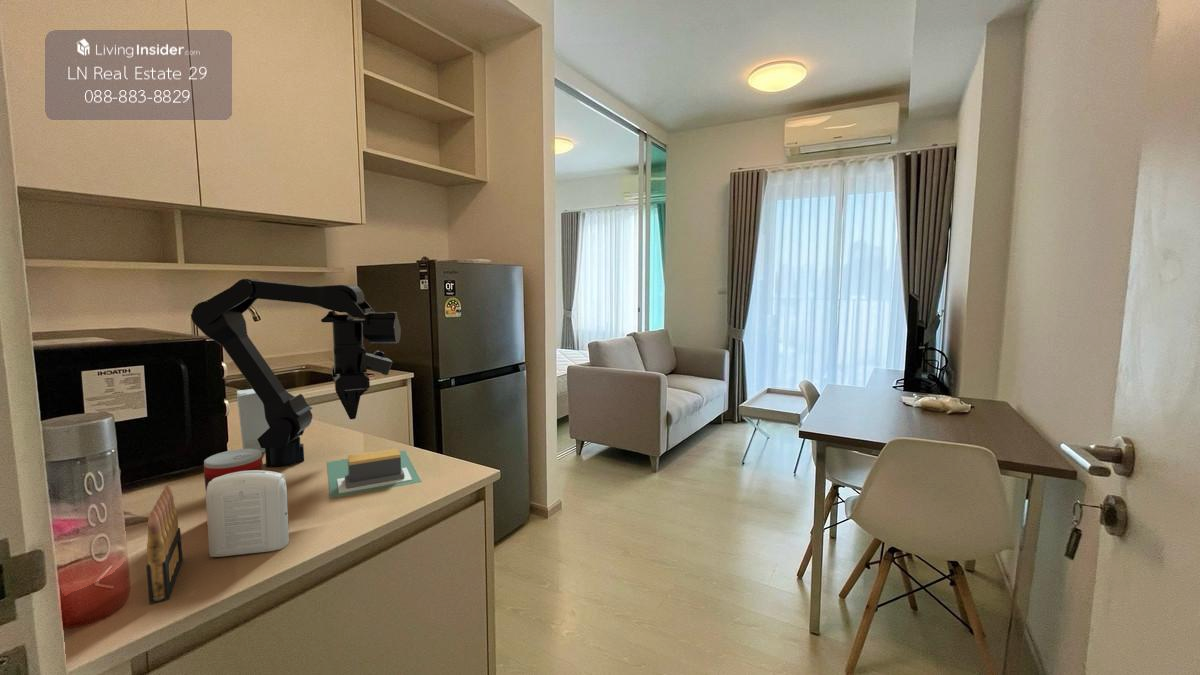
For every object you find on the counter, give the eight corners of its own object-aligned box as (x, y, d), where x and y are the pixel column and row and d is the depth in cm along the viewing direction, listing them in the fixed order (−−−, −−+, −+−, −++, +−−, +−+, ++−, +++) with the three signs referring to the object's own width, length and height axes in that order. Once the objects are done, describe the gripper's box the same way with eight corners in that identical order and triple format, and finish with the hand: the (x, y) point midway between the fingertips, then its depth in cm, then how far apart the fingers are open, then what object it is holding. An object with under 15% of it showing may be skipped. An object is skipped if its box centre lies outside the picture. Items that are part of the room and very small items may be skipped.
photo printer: (293, 537, 78) (289, 463, 76) (284, 551, 74) (280, 474, 72) (217, 546, 75) (212, 469, 73) (204, 561, 71) (197, 480, 69)
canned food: (275, 510, 86) (272, 451, 85) (228, 532, 79) (224, 467, 78) (245, 503, 89) (241, 445, 88) (197, 523, 81) (192, 460, 80)
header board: (330, 506, 88) (329, 476, 88) (327, 468, 105) (326, 443, 105) (421, 488, 97) (421, 461, 96) (405, 456, 114) (404, 433, 113)
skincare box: (281, 443, 121) (278, 384, 119) (285, 449, 116) (281, 389, 114) (240, 449, 115) (236, 389, 114) (241, 457, 111) (237, 394, 109)
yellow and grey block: (349, 482, 92) (348, 462, 92) (348, 474, 96) (347, 455, 95) (401, 473, 97) (400, 454, 97) (397, 466, 101) (397, 448, 100)
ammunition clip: (166, 562, 70) (159, 484, 69) (183, 559, 71) (176, 481, 70) (149, 605, 61) (140, 515, 60) (168, 600, 62) (160, 512, 61)
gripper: (395, 346, 100) (397, 419, 102) (383, 336, 116) (385, 400, 118) (333, 349, 94) (337, 427, 96) (330, 338, 110) (333, 405, 112)
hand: (351, 413), depth 106 cm, fingers open, 9 cm apart
